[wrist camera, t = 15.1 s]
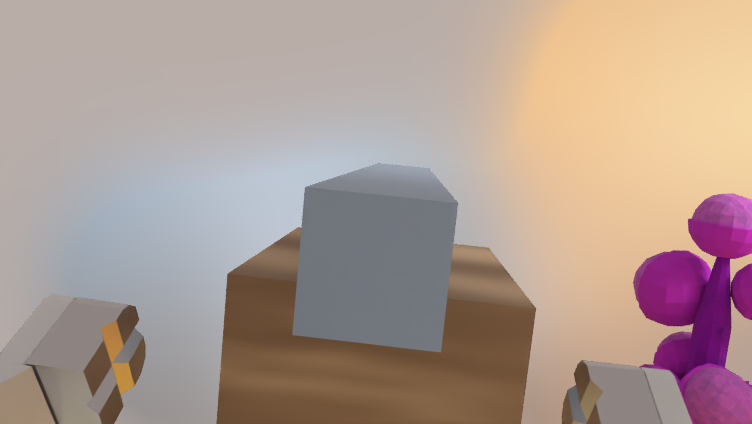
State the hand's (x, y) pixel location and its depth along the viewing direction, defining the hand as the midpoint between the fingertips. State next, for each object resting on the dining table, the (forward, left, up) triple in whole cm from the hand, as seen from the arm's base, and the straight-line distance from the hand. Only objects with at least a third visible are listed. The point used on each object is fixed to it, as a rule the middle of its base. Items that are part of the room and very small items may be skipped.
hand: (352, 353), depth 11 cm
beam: (-12, -12, -1) cm, 17 cm away
